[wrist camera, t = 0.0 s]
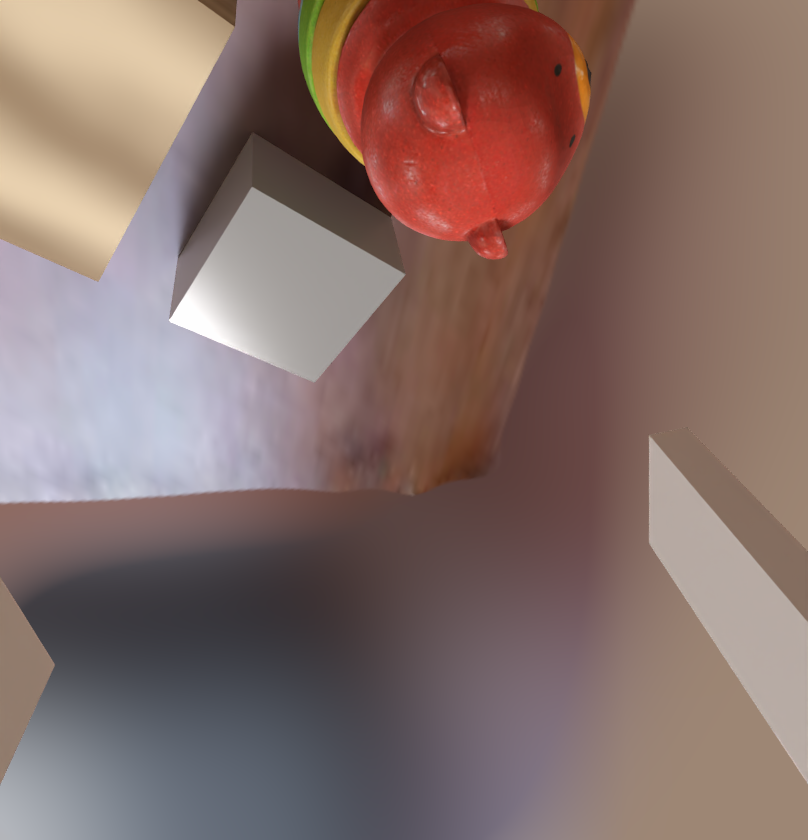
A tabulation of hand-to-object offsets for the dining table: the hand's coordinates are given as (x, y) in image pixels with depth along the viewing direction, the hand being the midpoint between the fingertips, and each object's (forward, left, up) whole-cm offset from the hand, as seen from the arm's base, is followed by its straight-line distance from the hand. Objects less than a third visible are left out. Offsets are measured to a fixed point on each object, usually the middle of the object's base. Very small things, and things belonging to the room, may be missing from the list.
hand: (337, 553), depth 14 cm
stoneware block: (+9, +5, -28) cm, 30 cm away
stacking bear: (-5, +3, -28) cm, 29 cm away
